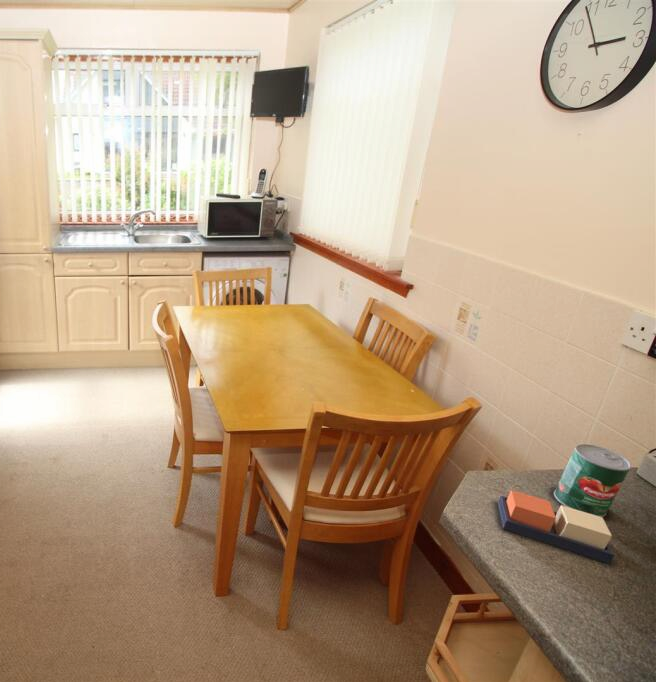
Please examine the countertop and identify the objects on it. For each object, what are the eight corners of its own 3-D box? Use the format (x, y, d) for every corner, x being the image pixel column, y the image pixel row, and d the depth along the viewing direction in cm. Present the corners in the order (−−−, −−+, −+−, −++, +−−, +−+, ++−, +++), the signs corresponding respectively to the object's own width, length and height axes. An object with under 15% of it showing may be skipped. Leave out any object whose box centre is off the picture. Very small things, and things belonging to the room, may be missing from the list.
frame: (595, 534, 85) (600, 525, 84) (609, 564, 78) (614, 555, 77) (497, 503, 91) (500, 495, 90) (502, 529, 85) (506, 520, 84)
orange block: (507, 523, 85) (515, 505, 84) (503, 506, 89) (511, 489, 88) (547, 536, 83) (556, 518, 81) (541, 518, 87) (549, 501, 85)
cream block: (593, 534, 84) (602, 517, 82) (602, 554, 79) (612, 536, 78) (552, 522, 86) (560, 504, 85) (558, 540, 82) (567, 522, 80)
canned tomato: (584, 519, 88) (608, 471, 84) (543, 491, 95) (564, 445, 91) (617, 515, 89) (643, 467, 85) (575, 487, 96) (597, 442, 92)
